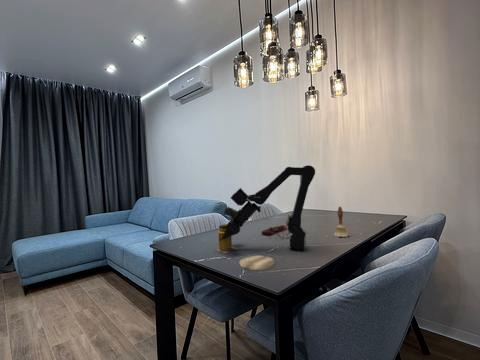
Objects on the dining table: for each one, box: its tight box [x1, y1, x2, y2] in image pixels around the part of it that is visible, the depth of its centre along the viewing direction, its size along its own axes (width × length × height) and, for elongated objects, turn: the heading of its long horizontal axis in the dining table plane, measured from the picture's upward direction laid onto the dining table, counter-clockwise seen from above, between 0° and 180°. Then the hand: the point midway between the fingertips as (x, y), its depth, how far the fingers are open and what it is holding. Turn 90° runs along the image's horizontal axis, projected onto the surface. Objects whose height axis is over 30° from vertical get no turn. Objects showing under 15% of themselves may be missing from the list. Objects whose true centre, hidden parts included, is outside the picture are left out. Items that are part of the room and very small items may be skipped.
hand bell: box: [333, 206, 349, 236], centre depth 144 cm, size 8×8×16 cm
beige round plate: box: [238, 255, 275, 271], centre depth 107 cm, size 14×14×1 cm
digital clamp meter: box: [261, 224, 306, 240], centre depth 154 cm, size 23×4×25 cm
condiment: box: [216, 223, 238, 254], centre depth 128 cm, size 7×8×12 cm
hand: (223, 236), depth 128 cm, fingers open, 9 cm apart
